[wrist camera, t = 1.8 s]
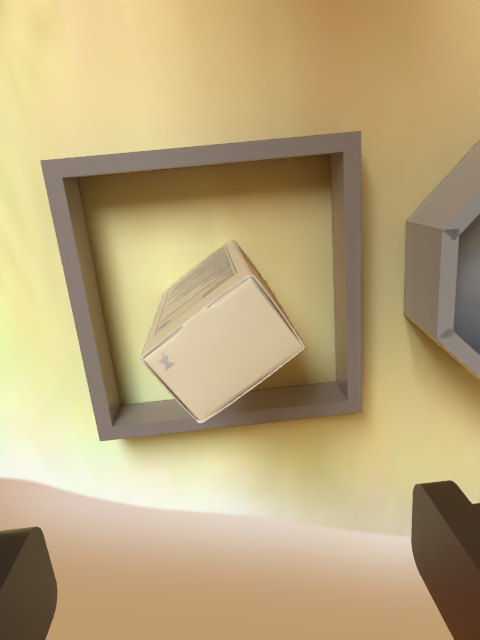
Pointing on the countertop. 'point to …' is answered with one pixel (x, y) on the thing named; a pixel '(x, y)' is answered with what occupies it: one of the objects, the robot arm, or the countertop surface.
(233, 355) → the skincare box
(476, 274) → the ceramic bowl
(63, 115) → the countertop surface
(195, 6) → the countertop surface
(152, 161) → the parts tray
